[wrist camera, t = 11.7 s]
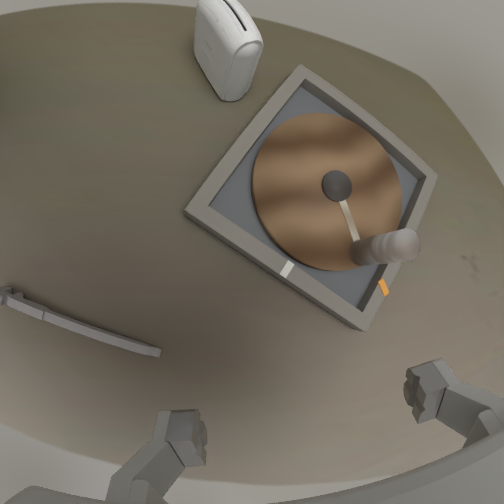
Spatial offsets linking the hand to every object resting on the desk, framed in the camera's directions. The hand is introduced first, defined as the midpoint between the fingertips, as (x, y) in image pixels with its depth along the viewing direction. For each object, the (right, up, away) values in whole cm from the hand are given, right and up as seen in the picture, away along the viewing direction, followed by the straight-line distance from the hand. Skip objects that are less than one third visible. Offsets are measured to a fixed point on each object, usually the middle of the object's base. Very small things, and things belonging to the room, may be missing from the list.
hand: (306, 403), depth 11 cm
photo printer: (-6, +29, +27) cm, 40 cm away
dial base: (+7, +13, +28) cm, 31 cm away
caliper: (-22, -2, +21) cm, 30 cm away
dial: (+7, +13, +26) cm, 30 cm away
